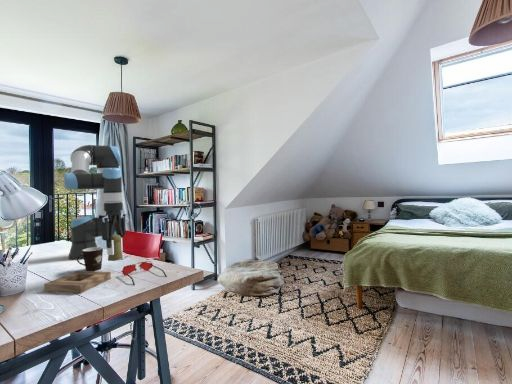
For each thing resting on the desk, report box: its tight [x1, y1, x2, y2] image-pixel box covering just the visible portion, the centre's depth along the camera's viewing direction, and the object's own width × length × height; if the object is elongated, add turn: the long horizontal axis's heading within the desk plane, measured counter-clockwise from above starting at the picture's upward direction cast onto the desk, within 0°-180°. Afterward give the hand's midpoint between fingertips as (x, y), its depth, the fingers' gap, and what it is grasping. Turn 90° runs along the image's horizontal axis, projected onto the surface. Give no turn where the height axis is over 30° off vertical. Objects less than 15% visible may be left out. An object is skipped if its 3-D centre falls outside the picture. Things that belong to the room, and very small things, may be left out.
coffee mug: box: [76, 246, 104, 271], centre depth 130 cm, size 12×9×10 cm
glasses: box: [121, 260, 168, 286], centre depth 119 cm, size 14×16×5 cm
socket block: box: [43, 270, 112, 294], centre depth 110 cm, size 16×16×3 cm
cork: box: [107, 235, 124, 262], centre depth 123 cm, size 6×6×11 cm
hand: (115, 252), depth 123 cm, fingers closed on cork, 5 cm apart
